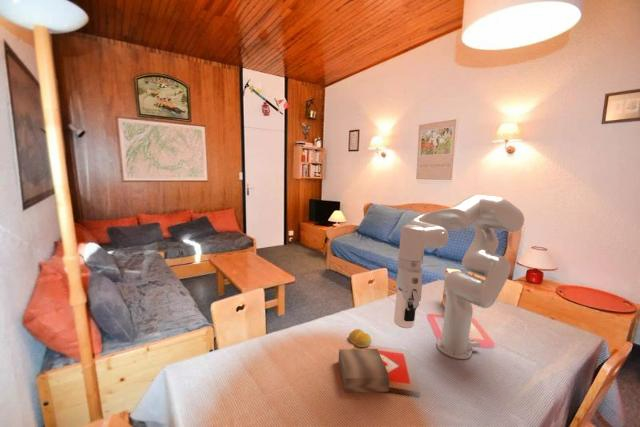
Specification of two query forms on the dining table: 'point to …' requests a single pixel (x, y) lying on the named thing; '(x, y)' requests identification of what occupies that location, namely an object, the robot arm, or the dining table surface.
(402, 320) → the can
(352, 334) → the bread roll
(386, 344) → the dining table surface
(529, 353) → the dining table surface
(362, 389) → the block
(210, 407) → the dining table surface
